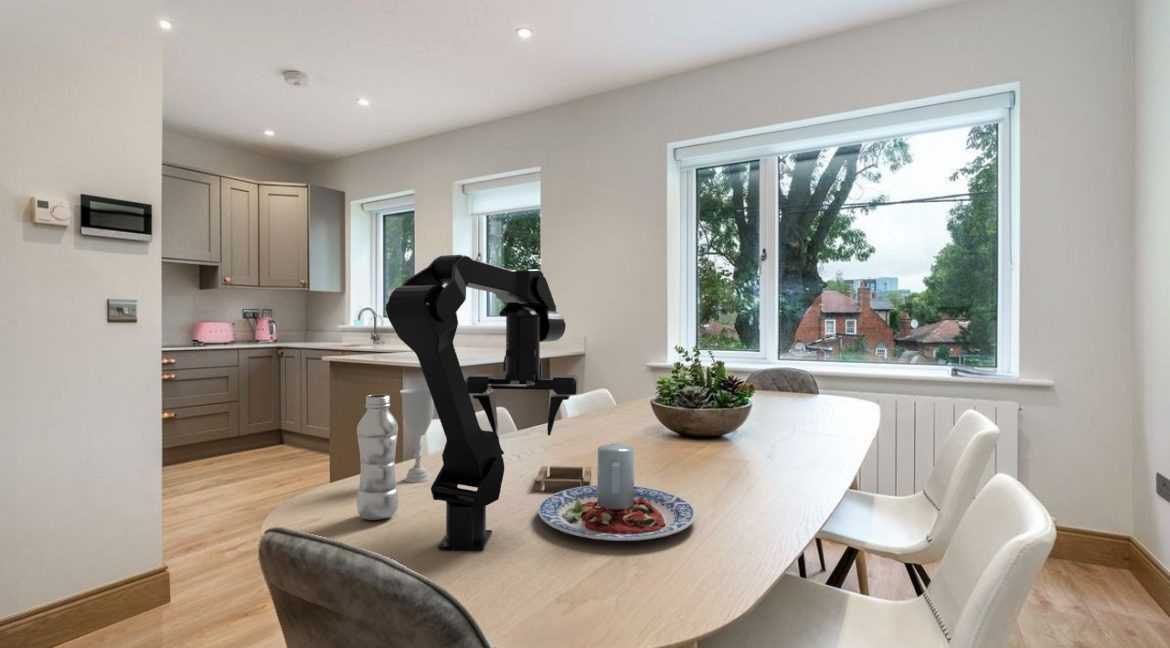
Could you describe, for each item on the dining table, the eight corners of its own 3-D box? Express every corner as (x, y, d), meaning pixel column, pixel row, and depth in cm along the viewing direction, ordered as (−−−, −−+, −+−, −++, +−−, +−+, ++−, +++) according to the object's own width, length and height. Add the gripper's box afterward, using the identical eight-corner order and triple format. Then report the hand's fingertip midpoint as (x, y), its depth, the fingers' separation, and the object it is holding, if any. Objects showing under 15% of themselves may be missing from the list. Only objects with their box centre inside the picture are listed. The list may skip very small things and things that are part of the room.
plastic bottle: (371, 528, 87) (372, 400, 87) (348, 518, 91) (348, 396, 91) (407, 516, 92) (407, 395, 92) (383, 508, 97) (383, 392, 96)
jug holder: (589, 492, 106) (589, 481, 106) (534, 490, 107) (534, 480, 107) (591, 476, 117) (591, 467, 117) (541, 475, 117) (541, 466, 117)
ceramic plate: (701, 503, 101) (701, 487, 101) (688, 563, 76) (688, 541, 76) (565, 491, 108) (565, 475, 108) (513, 542, 83) (513, 522, 83)
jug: (633, 495, 96) (633, 443, 96) (635, 515, 86) (635, 457, 86) (598, 495, 96) (598, 442, 96) (596, 514, 87) (596, 456, 86)
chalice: (392, 482, 112) (392, 392, 112) (412, 473, 118) (412, 388, 118) (424, 485, 110) (424, 393, 109) (442, 476, 116) (443, 389, 116)
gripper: (580, 341, 103) (579, 426, 103) (479, 340, 104) (479, 424, 104) (576, 344, 92) (575, 439, 92) (464, 343, 93) (463, 437, 93)
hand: (522, 434), depth 96 cm, fingers open, 9 cm apart
